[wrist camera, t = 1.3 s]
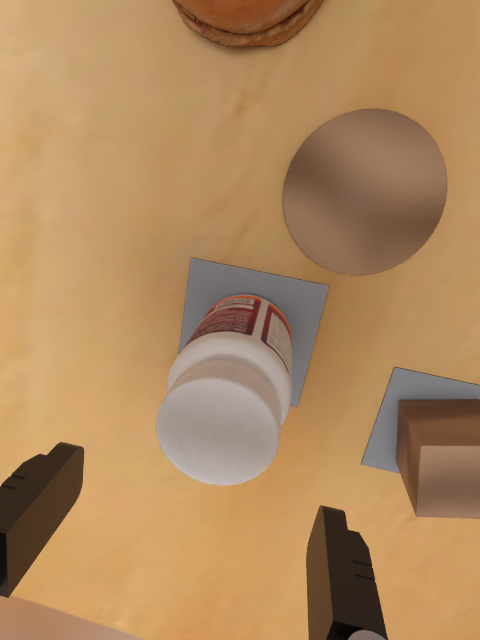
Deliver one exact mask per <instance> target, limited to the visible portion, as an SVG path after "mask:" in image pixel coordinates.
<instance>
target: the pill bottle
mask: <svg viewBox="0 0 480 640" xmlns="http://www.w3.org/2000/svg"><path fill="white" fill-rule="evenodd" d="M291 370H292V337H291V331H290V327H289V324H288V322H287V320H286V318H285V316H284V315H283V313H282V312H281V311H280V310H279V309H278V308H277V307H276V306H275V305H273V304H272V303H271V302H269V301H267V300H266V299H263V298H261V297H258V296H254V295H248V294H242V295H234V296H231V297H228V298H225V299H223V300H221V301H220V302H218V303H217V304H216V305H214V306H213V307H212V308H211V309H210V310H209V311H208V313H207V314H206V315H205V317H204V318H203V320H202V321H201V323H200V324H199V325H198V327H197V329H196V330H195V331H194V333H193V334H192V336H191V337H190V339H189V340H188V342H187V343H186V345H185V346H184V348H183V349H182V350H181V352H180V353H179V355H178V356H177V357H176V359H175V361H174V363H173V365H172V367H171V370H170V372H169V376H168V381H167V395H166V397H165V398H164V400H163V402H162V403H161V406H160V408H159V411H158V414H157V419H156V432H157V438H158V442H159V444H160V447H161V449H162V451H163V452H164V454H165V456H166V457H167V458H168V460H169V461H170V462H171V463H172V464H173V465H174V466H175V467H176V468H177V469H179V470H180V471H181V472H182V473H184V474H186V475H187V476H189V477H191V478H193V479H195V480H198V481H200V482H203V483H207V484H212V485H234V484H240V483H243V482H246V481H249V480H251V479H253V478H255V477H256V476H258V475H259V474H261V473H262V472H263V471H264V470H265V469H266V468H267V467H268V466H269V465H270V463H271V462H272V460H273V459H274V457H275V455H276V452H277V449H278V444H279V437H280V429H281V426H282V424H283V423H284V421H285V419H286V417H287V414H288V412H289V408H290V403H291V396H292V382H291Z"/></svg>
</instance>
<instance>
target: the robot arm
mask: <svg viewBox="0 0 480 640" xmlns="http://www.w3.org/2000/svg"><path fill="white" fill-rule="evenodd" d="M83 464H84V448H83V447H81V446H76V445H72V444H68V443H64V442H60V443H58V444H57V445H56V446H55V447H54V448H53V449H52V450H51V451H50V452H49V454H48V455H42V454H38V455H36V456H35V457H33V458H31V459H29V460H27V461H25V462H24V463H22V464H21V465H20V466H19V467H18V468H17V469H16V470H15V471H14V472H13V473H12V475H11V477H8V478H7V479H6V480H5V481H4V482H3V483H2V485H1V487H0V596H4V597H7V598H9V596H10V595H11V593H12V592H13V590H14V589H15V588H16V586H17V585H18V583H19V582H20V580H21V579H22V578H23V576H24V575H25V573H26V572H27V571H28V569H29V568H30V566H31V565H32V563H33V562H34V561H35V559H36V558H37V556H38V555H39V553H40V552H41V551H42V549H43V548H44V546H45V545H46V544H47V542H48V541H49V539H50V538H51V536H52V535H53V534H54V532H55V531H56V529H57V528H58V526H59V525H60V524H61V522H62V521H63V519H64V518H65V517H66V515H67V514H68V512H69V511H70V509H71V508H72V507H73V505H74V504H75V502H76V500H77V499H78V496H79V494H80V491H81V488H82V483H83ZM306 569H307V598H308V628H309V640H388V637H387V634H386V629H385V624H384V619H383V614H382V610H381V605H380V600H379V595H378V591H377V586H376V582H375V576H374V572H373V568H372V562H371V557H370V553H369V548H368V547H367V545H366V543H365V542H364V540H363V538H362V537H361V535H360V533H359V532H355V531H351V530H348V528H347V522H346V516H345V512H344V511H343V510H339V509H335V508H331V507H327V506H322V505H321V506H320V507H319V509H318V512H317V515H316V519H315V522H314V525H313V528H312V532H311V535H310V538H309V542H308V547H307V556H306Z"/></svg>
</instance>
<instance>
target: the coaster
mask: <svg viewBox="0 0 480 640" xmlns="http://www.w3.org/2000/svg"><path fill="white" fill-rule="evenodd" d="M446 195H447V173H446V167H445V163H444V160H443V157H442V154H441V152H440V150H439V148H438V146H437V144H436V143H435V141H434V140H433V138H432V137H431V136H430V135H429V133H428V132H427V131H426V130H425V129H424V128H423V127H421V126H420V125H419V124H418V123H417V122H415V121H413V120H412V119H410V118H408V117H406V116H404V115H402V114H399V113H396V112H392V111H388V110H381V109H364V110H358V111H353V112H350V113H347V114H344V115H341V116H339V117H337V118H335V119H333V120H331V121H329V122H328V123H326V124H324V125H323V126H321V127H320V128H319V129H318V130H317V131H315V132H314V133H313V134H312V135H311V136H310V137H309V138H308V139H307V140H306V141H305V143H304V144H303V145H302V147H301V148H300V149H299V151H298V152H297V154H296V156H295V158H294V159H293V161H292V163H291V166H290V168H289V171H288V174H287V177H286V181H285V186H284V194H283V206H284V214H285V219H286V223H287V226H288V228H289V231H290V233H291V235H292V237H293V239H294V241H295V242H296V244H297V245H298V246H299V248H300V249H301V250H302V251H303V252H304V253H305V254H306V255H307V256H308V257H309V258H310V259H311V260H313V261H314V262H315V263H317V264H318V265H320V266H322V267H324V268H326V269H328V270H331V271H333V272H337V273H341V274H347V275H368V274H374V273H378V272H382V271H385V270H388V269H390V268H393V267H395V266H396V265H398V264H400V263H402V262H404V261H405V260H407V259H408V258H410V257H411V256H412V255H413V254H414V253H416V252H417V251H418V250H419V249H420V248H421V247H422V246H423V245H424V244H425V242H426V241H427V240H428V239H429V237H430V236H431V234H432V233H433V231H434V230H435V228H436V226H437V224H438V222H439V220H440V218H441V215H442V213H443V209H444V206H445V202H446Z"/></svg>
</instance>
